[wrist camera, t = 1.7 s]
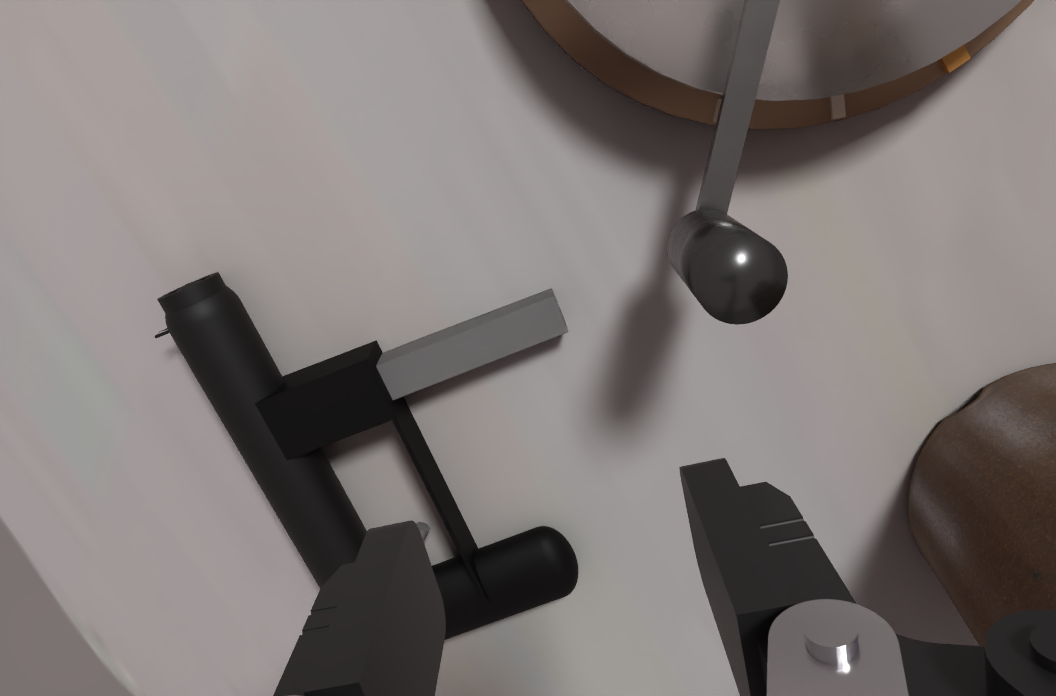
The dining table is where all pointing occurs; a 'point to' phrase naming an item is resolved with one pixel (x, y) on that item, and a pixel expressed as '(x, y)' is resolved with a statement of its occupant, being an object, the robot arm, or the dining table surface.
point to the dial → (769, 98)
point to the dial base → (704, 106)
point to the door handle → (354, 406)
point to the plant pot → (992, 500)
